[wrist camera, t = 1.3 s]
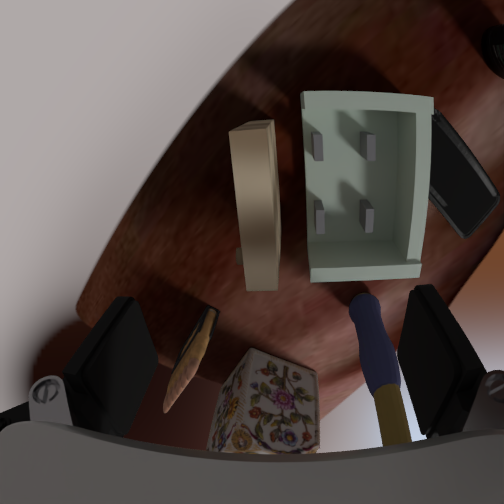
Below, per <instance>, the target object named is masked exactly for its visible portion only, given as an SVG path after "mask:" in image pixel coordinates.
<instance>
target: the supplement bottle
mask: <svg viewBox="0 0 504 504" xmlns="http://www.w3.org/2000/svg"><path fill="white" fill-rule="evenodd" d="M481 45H482V51H483V55H484V58H485V60H486V62H487V64H488V65H489V67H490V68H491V70H492V71H493V72H494V73H495V74H496V75H498V76H499V77H501V78H502V79H504V24H501V25H496V26H493V27H490V28H488V29H487V30H486V31H485V32H484V33H483V36H482V41H481Z"/></svg>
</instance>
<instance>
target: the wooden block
mask: <svg viewBox="0 0 504 504" xmlns="http://www.w3.org/2000/svg"><path fill="white" fill-rule="evenodd" d="M229 140H230V149H231V158H232V167H233V176H234V185H235V194H236V203H237V212H238V220H239V229H240V238H241V246H242V248H237V249H236V262H237V264H238V265H241V264H244V272H245V280H246V289H247V291H272V290H278V279H279V264H280V248H281V231H282V228H281V211H280V196H279V181H278V167H277V153H276V140H275V128H274V119H272V120H258V121H249V122H247V123H245V124H243V125H241V126H239V127H237V128H235V129H233V130H231V131H229Z"/></svg>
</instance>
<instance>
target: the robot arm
mask: <svg viewBox="0 0 504 504" xmlns="http://www.w3.org/2000/svg"><path fill="white" fill-rule="evenodd" d="M397 357H398V361H399V364H400V367H401V370H402V373H403V376H404V379H405V382H406V385H407V388H408V391H409V395H410V398H411V401H412V404H413V408H414V411H415V414H416V417H417V421H418V424H419V428H420V432H421V434H422V435H426V437H427V439H425V440H419V441H414V442H408V443H403V444H396V445H390V446H383V447H377V448H369V449H361V450H352V451H342V452H328V453H311V454H244V453H227V452H214V451H203V450H193V449H186V448H178V447H171V446H164V445H158V444H152V443H147V442H141V441H136V440H131V439H126V438H123V436H124V434H127V433H128V432H129V430H130V427H131V425H132V423H133V420H134V418H135V416H136V413H137V411H138V408H139V406H140V404H141V401H142V399H143V397H144V395H145V392H146V390H147V387H148V385H149V383H150V381H151V378H152V376H153V374H154V372H155V369H156V367H157V365H158V355H157V353H156V350H155V347H154V345H153V342H152V339H151V337H150V334H149V331H148V328H147V325H146V323H145V320H144V317H143V314H142V311H141V308H140V305H139V303H138V301H135V299H134V298H133V297H117V298H115V300H114V301H113V302H112V304H111V305H110V306H109V308H108V309H107V310H106V311H105V313H104V314H103V315H102V317H101V318H100V319H99V321H98V322H97V323H96V325H95V326H94V327H93V329H92V330H91V332H90V333H89V334H88V336H87V337H86V338H85V340H84V341H83V343H82V344H81V346H80V347H79V348H78V350H77V351H76V352H75V354H74V355H73V357H72V358H71V359H70V361H69V362H68V364H67V365H66V367H65V368H64V370H63V371H62V372H63V374H64V376H65V377H64V378H63V380H62V379H60V378H59V377H57V376H47V377H44V378H42V379H40V380H38V381H37V382H36V383H35V384H34V385H33V386H32V387H31V390H30V392H29V401H28V402H26V403H23V404H21V405H18V406H16V407H14V408H11V409H9V410H7V411H4V412H2V413H0V504H504V371H502V370H493V371H490V372H488V373H487V372H486V370H485V368H484V366H483V364H482V362H481V361H480V359H479V357H478V355H477V353H476V352H475V350H474V348H473V347H472V345H471V343H470V341H469V340H468V338H467V337H466V335H465V333H464V332H463V330H462V328H461V327H460V325H459V323H458V322H457V321H456V319H455V318H454V316H453V315H452V313H451V311H450V310H449V308H448V307H447V305H446V304H445V302H444V301H443V299H442V298H441V296H440V295H439V293H438V292H437V290H436V289H435V287H434V286H433V285H432V284H427V285H417V286H415V288H414V290H411V291H410V293H409V299H408V304H407V309H406V314H405V319H404V324H403V328H402V333H401V337H400V342H399V346H398V350H397Z"/></svg>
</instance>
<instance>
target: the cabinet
mask: <svg viewBox="0 0 504 504" xmlns="http://www.w3.org/2000/svg"><path fill="white" fill-rule="evenodd" d="M300 99H301V112H302V127H303V143H304V161H305V183H306V210H307V250H308V260H309V270H310V280H311V282H337V281H360V280H381V279H400V278H418V277H419V276H420V270H421V265H422V264H421V262H420V258H421V252H422V245H423V239H424V231H425V223H426V215H427V205H428V195H429V182H430V165H431V114H433V115H434V103H433V97H426V96H418V95H408V94H396V93H382V92H363V91H303V92H302V93H301V94H300Z"/></svg>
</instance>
